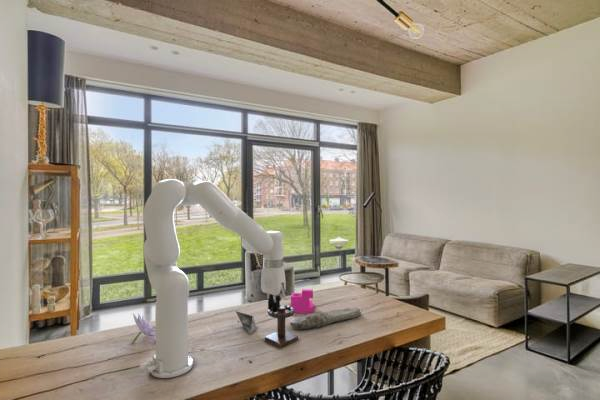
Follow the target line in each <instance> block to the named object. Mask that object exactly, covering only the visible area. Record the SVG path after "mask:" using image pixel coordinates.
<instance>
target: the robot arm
mask: <svg viewBox="0 0 600 400" xmlns="http://www.w3.org/2000/svg"><path fill="white" fill-rule="evenodd" d="M178 206H179V207H180V206H181V207H183V206H185V207H186V206H188V207H189V206H200V207H201V208H202V209H203V210H204V211H205V212H207V214H209V216H211V217H212V218H213V220H215V221H216V222H217V224H219V225H220V226H222V228H223V229H226V230H227V231H229V232H232V233H234V234H235V235H237V236H239V237H241V238H242V239H241V246H242V248H243V249H244V250H245V251H247V252H250V253H252V254H253V253H254V254H257V255H261V256H263V265H262V268H261V274H260V275H261V276H260V290H261V292H263V293H264V294H265V296H266V300H267V311H268V310H269V309H270V308H271V307H273V312H274V313H277V307H279V306H280V305H281V301H282V299H284V298H286V290H287V284H286V272H285V268H284V234H283V232H282V231H279V230H268V231H266V230H265V229H264V227H262V225H261V224H259V223H258V222H257V221H256V220H255V219H254V218H252V217H250V216H249V215H248V214H247V213H246V212H244V211H243V210H241V209H240V208H239V206H237V205H236V204H235V203H234V202H233V201H232V200H231V199H230V198H229V197H228V196H227V195H226V194H225V193H224V192H223V191H222V190H221V188H220V187H218V186H217V185H216V183H214V182H212V181H208V180H202V181H181V180H180V179H176V178H167V179H162V180H160V181H158V182H156V183H155V184H154V185H153V187H152V189H151V193H150V195H149V196H148V197H147V200H146V201H145V204H144V207H143V214H142V216H143V217H142V218H143V224H144V225H143V226H144V231H145V238H146V239H145V241H144V243H143V246H142V252H143V258H144V263H145V269H146V273H147V277H148V281H149V284H150V286H151V287H152V289H153V290H154V291H155V293H156V294H155V295H156V300H155V311H154V312H155V314H154V315H155V317H154V319H155V321H154V322H155V326H156V329H155V331H156V332H155V333H156V335H155V339H156V341H155V354H154V355H152V359H150V360H149V361H148V362H145V363H141V364H140V365H138V370H139V372H140V373H142V372H144V371H146V372H147V373H151V375H152V376H153V377H155V378H157V379H171V378H176V377H178V376H182V375H184V374H186V373H187V372H189V371H190V370H191V369H192V368H193V366H194V359H193V357H192V356H190V355H189V312H188V311H189V310H188V308H189V294H190V281H189V278H188V276H187V274H186V273H185V272H184V271H183V270H182V269H180V268H178V264H177V261H178V259H179V257H180V254H181V250H180V244H179V241H178V236H177V231H176V226H175V218H174V215H175V211H176V208H177V207H178Z"/></svg>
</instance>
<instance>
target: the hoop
mask: <svg viewBox="0 0 600 400" xmlns="http://www.w3.org/2000/svg"><path fill="white" fill-rule="evenodd" d="M280 306H284V307H285V311H288V312H285V313H283V314H278V313H277V312H275V313H274V312H273V307H271V308H270V309H269V310H268V309H267V311H266V312H267V314H268V316H269V317H270V318H274V319H277V318H285V319H287V318H288V319H289V318H290V317H293V316H294V315H295V314H296V313H295V310H294V308H293V307H291V305H284V304H280Z"/></svg>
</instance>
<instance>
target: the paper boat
mask: <svg viewBox="0 0 600 400" xmlns="http://www.w3.org/2000/svg"><path fill="white" fill-rule="evenodd" d="M235 313H236V315H237V317H238V319H237V321H236V322H237V323H238V324H239V323H240V324H241V325H242V327H243V329H245V330H246V332H248V333H249V334H250V335H251V334H252V333H253V332H254V331H255V330H256V329H257V325H256V321H255V318H254V315H251V314H247V313H244V312H240V311H235Z"/></svg>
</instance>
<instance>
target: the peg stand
mask: <svg viewBox="0 0 600 400" xmlns="http://www.w3.org/2000/svg"><path fill="white" fill-rule="evenodd" d="M276 313H278V314H283V313H286V310H285V307H284V306H279V307H277V312H276ZM276 321H277V325H276V326H277V327H276V328H277V331H275V332H273V333H270V334H268V335H265V336H264V341H265V342H267V343H268V344H271V345H273V346H275V347H277V348H279V349H282V348H285V347H287V346H289V345H291V344H293V343H296V342H297V341H299V335H297V334H294V333H291V332H289V331H287V330H286V318H276Z"/></svg>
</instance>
